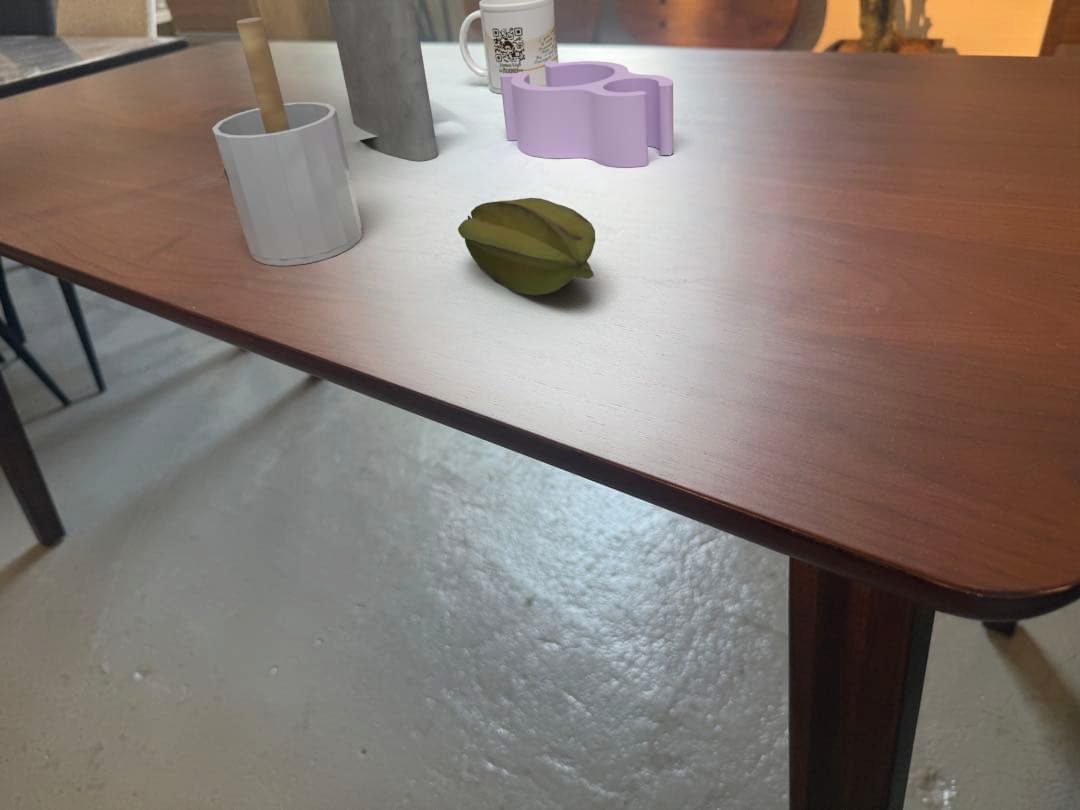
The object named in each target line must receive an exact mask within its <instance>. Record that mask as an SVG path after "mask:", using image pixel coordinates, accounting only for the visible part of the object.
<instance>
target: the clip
mask: <svg viewBox="0 0 1080 810" xmlns="http://www.w3.org/2000/svg"><path fill="white" fill-rule="evenodd" d="M544 64H545V76H546V87H541V86H534V85H530V79H529V74H528V73H513V74H502V75H500V81H501V90H502V94H501V98H502V107H503V117H504V125H505V133H506V140H507V141H517V147H518V149H519V151H520V152H521V153H524V154H526V155H529V156H532V157H537V158H543V159H589V160H592V161H595V162H596V163H598V164H600V165H603V166H608V167H614V168H639V167H646V166H648V165H649V147H650V146H651V147H650V148H654V147H656V148H658V149H659V150H660V151H659V150H658V149H657V150H658V151H659V155H660V154H661V155H660V156H662V155H669V154H672V153H673V151H674V150H675V149H674V147H675V146H674V145H675V144H674V143H675V141H674V81H673V79H671V78H669V77H667V76H663V75H659V74H658V75H656V74H640V73H635V72H634V73H633V72H630V71H629V69H628V67H626V66H625V65H623V64H621V63H616V62H610V61H600V60H599V61H597V60H592V61H591V60H585V61H583V60H582V61H581V60H580V61H569V62H568V61H567V62H558V63H557V61H547V62H544ZM656 148H655V149H656ZM674 152H675V151H674ZM673 154H674V153H673Z"/></svg>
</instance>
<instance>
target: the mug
mask: <svg viewBox="0 0 1080 810" xmlns="http://www.w3.org/2000/svg"><path fill="white" fill-rule="evenodd" d="M478 8H479V9H478V10H475V11H473V12H471V13H470V14H469V15H467V17H466V18H464V20H463V22H462V24H461V27H460V30H459V38H458V39H459V40H458V42H459V49H460V53H461V56H462V59H463V62H464V63H465V64H466V66H467V67H468V69H469V70H470V71H472V73H474V74H475V75H478V76H479V77H482V78H487V80H488V87H489V90H490V91H491V92H493V93H495V94H501V95H502V90H501V81H500V75H502V74H513V73H528V74H529V79H530V85H534V86H541V87H546V76H545V64H544V62H547V61H557V63H559V51H558V38H557V37H558V36H557V27H556V13H555V1H554V0H480V1H479V2H478ZM476 19H480V24H481V31H482V40H483V48H484V56H485V65H486V68H485V67H482V66H480V65H479V64H477V62H476V61H475V60H474V59H473V57H472V55H471V54H470V51H469V48H468V40H467V39H468V31H469V28H470V26H471V24H472V22H473V21H474V20H476Z"/></svg>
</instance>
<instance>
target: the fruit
mask: <svg viewBox="0 0 1080 810" xmlns="http://www.w3.org/2000/svg"><path fill="white" fill-rule="evenodd" d="M470 215H471V216H470ZM470 215H468V214H467V218H466V219H464V220H463V221H462V222H461V223H460V224H459V226H458V228H457V231H458V234H459V235H460V237H461V238H463V239H464V243H465V246H466V248H467V251H468V252H469V254H470V256H471V258H472V259H473V261H474V262H475V263H476V265H477V266H478V267H479V268H480V269H481V270H482V272H484V274H485V275H487V276H488V277H489V278H490V279H492V280H493V281H494V282H495V283H496V284H499V285H500V286H503V287H505V288H506V289H508V290H509V291H511V292H514V293H517V294H520V295H521V294H522V295H527V296H542V295H548V294H551V293H554V292H556V291H558V290H560V289H561V288H563V287H564V286H565V285H567V284H568V283H570V282H571V281H573V280H574V278H580V279H581V278H582V279H591V278H593V277H594V272H593V269H592V267H591V265H590V264H589V262H588V260H589V258H590V257H591V256H592V253H593V250H594V246H595V243H596V230H595V228H594V225H593V223H591V221H589V220H588V219H587V218H586V217H584V216H583V215H582V214H581V213H579V212H577V211H576V210H574V209H572V208H570V207H568V206H565V205H562V204H559V203H555V202H552V201H551V200H547V199H543V198H540V197H526V198H519V199H511V200H510V199H509V200H496V201H489V202H484V203H481V204H478V205H476V206H475V207H474V208H473V209H472V210H471V211H470Z"/></svg>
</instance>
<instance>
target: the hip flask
mask: <svg viewBox="0 0 1080 810" xmlns="http://www.w3.org/2000/svg"><path fill="white" fill-rule="evenodd" d="M327 3H328V7H329V13H330V18H331V22H332V28H333V32H334V37H335V42H336V47H337V50H338V55H339V61H340V65H341V69H342V73H343V75H342V76H343V79H344V80H343V81H344V84H345V90H346V93H347V98H348V103H349V107H350V108H349V109H350V113H351V117H352V121H353V125H354V126H356V127H357V128H359V129H360V130H362V131H364V132H366V133H368V134H371V135H373V136H371V137H367V138H363V139H359V140H358V141H359V142H360V143H362V144H363V145H365V146H367V147H368V148H371V149H373V150H375V151H378V152H380V153H384V154H386V155H389V156H393V157H397V158H400V159H404V160H408V161H414V162H423V161H430V160H434V159H435V158H437V157H438V156H439V150H438V144H437V139H436V130H435V125H434V119H433V112H432V107H431V106H432V105H431V101H430V95H429V94H430V93H429V88H428V82H427V76H426V69H425V64H424V57H423V52H422V45H421V38H420V32H419V27H418V20H417V14H416V7H415V1H414V0H327Z"/></svg>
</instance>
